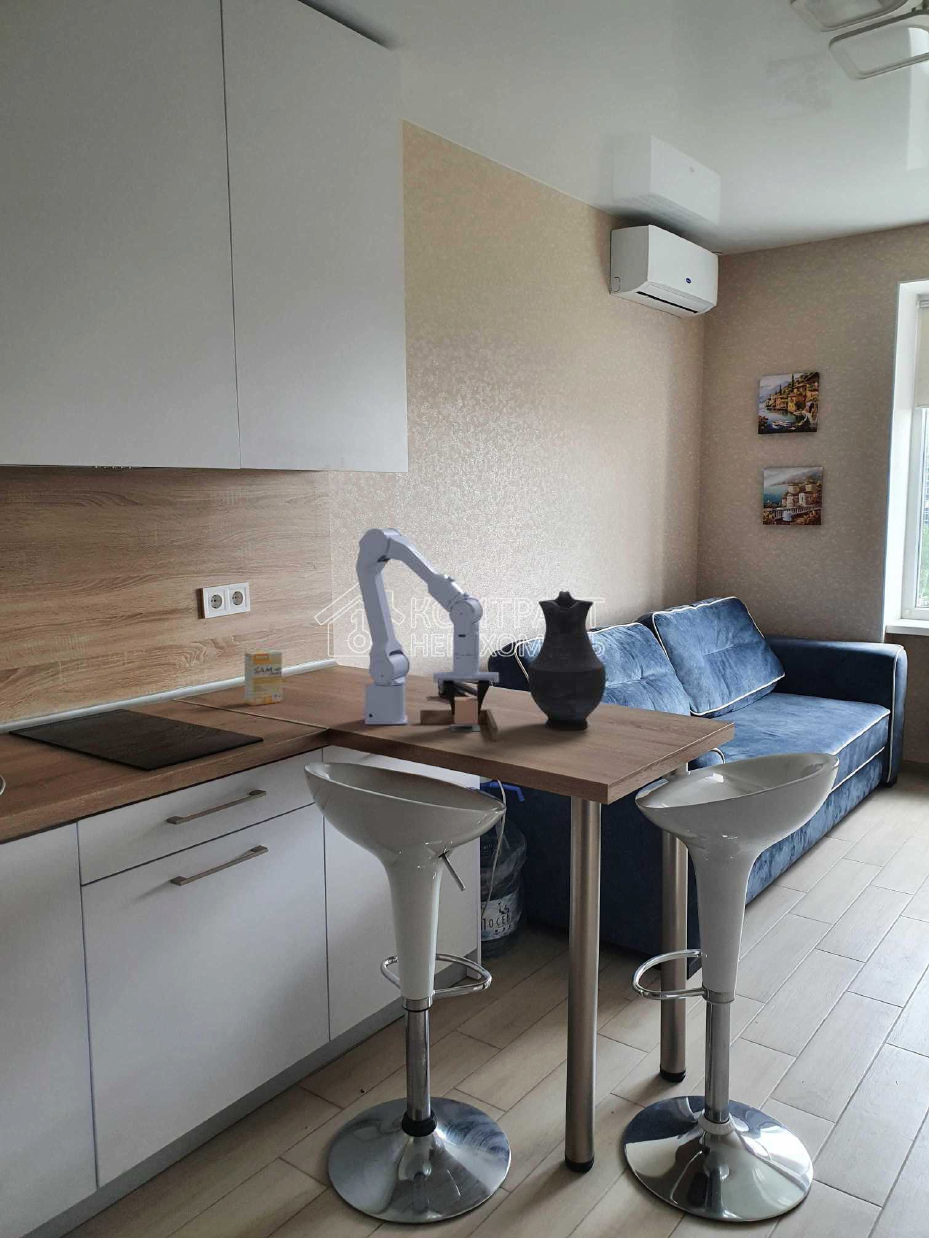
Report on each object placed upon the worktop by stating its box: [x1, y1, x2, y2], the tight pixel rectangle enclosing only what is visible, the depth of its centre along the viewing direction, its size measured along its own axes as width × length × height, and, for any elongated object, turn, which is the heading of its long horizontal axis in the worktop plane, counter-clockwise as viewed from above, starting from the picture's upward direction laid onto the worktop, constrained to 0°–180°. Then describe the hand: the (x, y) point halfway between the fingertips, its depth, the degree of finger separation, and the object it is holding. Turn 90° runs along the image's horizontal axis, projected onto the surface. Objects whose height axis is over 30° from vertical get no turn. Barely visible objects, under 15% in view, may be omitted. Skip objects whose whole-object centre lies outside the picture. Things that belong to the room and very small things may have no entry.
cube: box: [454, 696, 479, 724], centre depth 206 cm, size 5×5×5 cm
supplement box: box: [244, 649, 283, 707], centre depth 232 cm, size 8×5×13 cm, turn 128°
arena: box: [419, 708, 499, 742], centre depth 203 cm, size 16×18×3 cm
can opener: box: [437, 682, 477, 699], centre depth 238 cm, size 18×7×6 cm, turn 32°
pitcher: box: [527, 590, 607, 731], centre depth 209 cm, size 17×21×30 cm
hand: (465, 714), depth 206 cm, fingers closed on cube, 5 cm apart
